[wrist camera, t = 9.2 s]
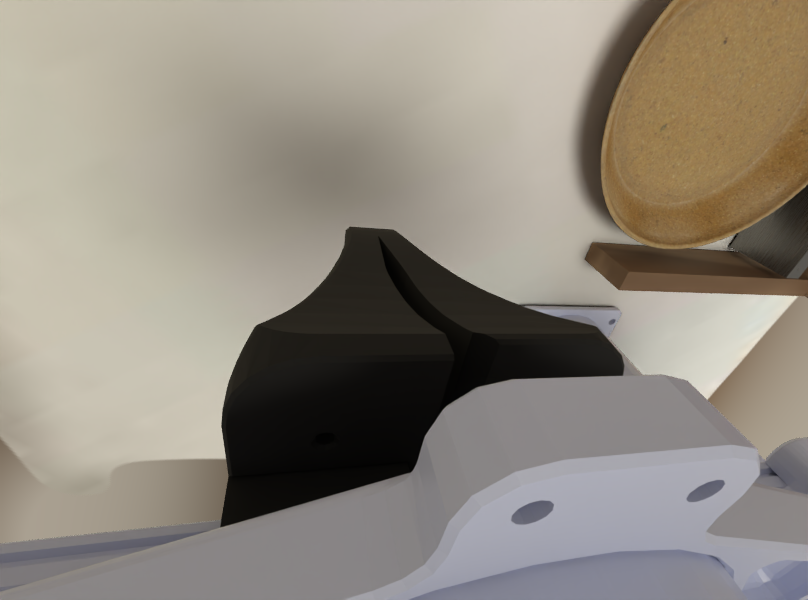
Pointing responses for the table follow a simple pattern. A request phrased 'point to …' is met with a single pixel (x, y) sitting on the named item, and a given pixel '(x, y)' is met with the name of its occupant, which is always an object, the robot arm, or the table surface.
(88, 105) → the table surface
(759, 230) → the pusher plate
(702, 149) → the plant saucer
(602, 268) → the brown wooden open box
